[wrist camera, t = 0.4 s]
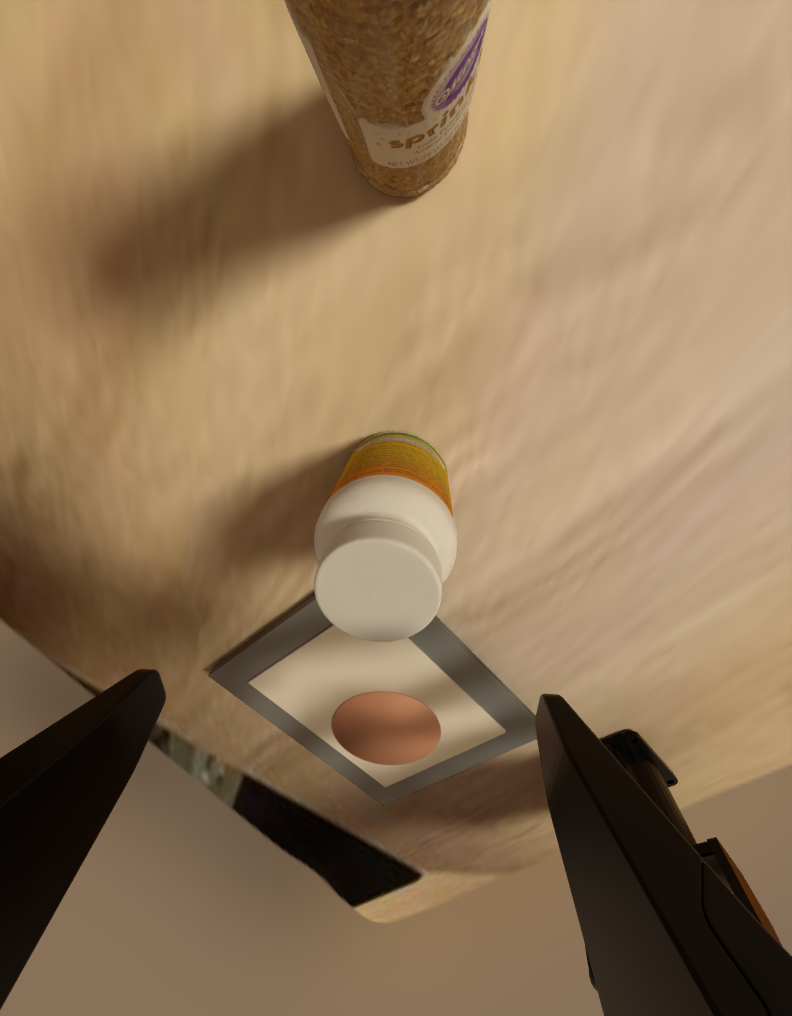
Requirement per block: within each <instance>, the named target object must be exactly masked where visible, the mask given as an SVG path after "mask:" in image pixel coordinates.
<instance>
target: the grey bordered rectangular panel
mask: <svg viewBox="0 0 792 1016" xmlns="http://www.w3.org/2000/svg"><path fill="white" fill-rule="evenodd" d="M208 676H209V677H210V678H212V679H213V680H214V681H216V682H217V683H218V684H220V685H221V686H223V687H224V688H225V689H227V690H228V691H229V692H231V693H232V694H233V695H235V696H236V697H237V698H239V699H240V700H241V701H243V702H244V703H245V704H247V705H248V706H250V707H251V708H252V709H254V710H255V711H256V712H258V713H259V714H260V715H262V716H263V717H264V718H266V719H267V720H268V721H270V722H271V723H273V724H274V725H275V726H277V727H278V728H279V729H281V730H282V731H283V732H285V733H286V734H287V735H289V736H290V737H291V738H293V739H294V740H295V741H297V742H298V743H300V744H301V745H302V746H304V747H305V748H306V749H308V750H309V751H310V752H312V753H313V754H314V755H316V756H317V757H318V758H320V759H321V760H322V761H324V762H325V763H327V764H328V765H329V766H331V767H332V768H333V769H335V770H336V771H337V772H339V773H340V774H341V775H343V776H344V777H345V778H347V779H348V780H349V781H351V782H352V783H354V784H355V785H356V786H358V787H359V788H360V789H362V790H363V791H364V792H366V793H367V794H368V795H370V796H371V797H372V798H374V799H375V800H376V801H378V802H379V803H381V804H382V805H383V806H384V805H386V804H388V803H391V802H393V801H395V800H398V799H400V798H402V797H404V796H407V795H409V794H411V793H414V792H416V791H418V790H420V789H423V788H425V787H427V786H430V785H432V784H434V783H437V782H439V781H441V780H443V779H446V778H448V777H450V776H453V775H455V774H457V773H459V772H462V771H464V770H466V769H469V768H471V767H473V766H475V765H478V764H480V763H482V762H485V761H487V760H489V759H492V758H494V757H496V756H498V755H501V754H503V753H505V752H508V751H510V750H512V749H514V748H517V747H519V746H521V745H524V744H526V743H528V742H531V741H533V740H535V739H537V735H536V728H535V718H536V716H535V715H534V714H533V713H532V712H531V711H530V710H529V709H528V708H527V707H526V706H525V705H524V704H523V703H522V702H521V701H520V700H519V699H518V698H517V697H516V696H515V695H514V694H513V693H512V692H511V691H510V690H509V689H508V688H507V687H506V686H505V685H504V684H503V683H502V682H501V681H500V680H499V679H498V678H497V677H496V676H495V675H494V674H493V673H492V672H491V671H490V670H489V669H488V668H487V667H486V666H485V665H484V664H483V663H482V662H481V661H480V660H479V659H478V658H477V657H476V656H475V655H474V654H473V653H472V652H471V651H470V649H469V648H468V647H467V646H466V645H465V644H464V643H463V642H462V641H461V640H460V639H459V638H458V637H457V636H456V635H455V634H454V633H453V632H452V631H451V630H450V629H449V628H448V627H447V626H446V625H445V624H444V623H443V622H442V621H441V620H440V619H439V618H438V617H437V616H436V615H435V617H434V618H433V620H432V621H431V622H430V623H429V624H428V625H427V626H426V627H425V628H424V629H423V630H421V631H419V632H418V633H416V634H414V635H412V636H410V637H408V638H405V639H402V640H398V641H392V642H372V641H366V640H362V639H359V638H356V637H353V636H351V635H349V634H347V633H345V632H343V631H342V630H340V629H339V628H337V627H336V626H335V625H333V624H332V623H331V622H330V621H329V620H328V619H327V617H326V616H325V615H324V614H323V612H322V611H321V609H320V607H319V605H318V603H317V600H316V597H315V594H314V595H312V596H311V597H310V598H308V599H307V600H305V601H304V602H303V603H301V604H300V605H299V606H297V607H296V608H294V609H293V610H292V611H290V612H289V613H287V614H286V615H285V616H283V617H282V618H280V619H279V620H278V621H276V622H275V623H274V624H272V625H271V626H269V627H268V628H267V629H265V630H264V631H262V632H261V633H260V634H258V635H257V636H256V637H254V638H253V639H251V640H250V641H249V642H247V643H246V644H244V645H243V646H242V647H240V648H239V649H238V650H236V651H235V652H233V653H232V654H231V655H229V656H228V657H226V658H225V659H224V660H222V661H221V662H220V663H218V664H217V665H215V666H214V667H213V669H212V670H211V672H210V674H209V675H208Z"/></svg>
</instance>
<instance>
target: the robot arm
mask: <svg viewBox="0 0 792 1016" xmlns="http://www.w3.org/2000/svg"><path fill="white" fill-rule="evenodd" d="M165 700H166V692H165V689H164V686H163V683H162V680H161V677H160V674H159V672H158V671H157V670H153V669H139V670H136V671H135V672H133V673H132V674H130V675H128V676H127V677H125V678H124V679H122V680H121V681H119V682H118V683H116V684H114V685H113V686H111V687H110V688H108V689H107V690H105V691H104V692H102V693H100V694H99V695H97V696H96V697H94V698H93V699H91V700H90V701H88V702H87V703H85V704H84V705H82V706H80V707H79V708H77V709H76V710H74V711H73V712H71V713H70V714H68V715H66V716H65V717H63V718H62V719H60V720H59V721H57V722H56V723H54V724H53V725H51V726H49V727H48V728H46V729H45V730H43V731H42V732H40V733H39V734H37V735H35V736H34V737H32V738H31V739H29V740H28V741H26V742H25V743H23V744H22V745H20V746H18V747H17V748H15V749H14V750H12V751H11V752H9V753H7V754H6V755H4V756H3V757H1V758H0V1009H1V1008H2V1006H3V1004H4V1002H5V1001H6V999H7V997H8V995H9V993H10V992H11V990H12V988H13V986H14V984H15V983H16V981H17V979H18V977H19V976H20V974H21V972H22V970H23V968H24V966H25V965H26V963H27V961H28V959H29V958H30V956H31V954H32V952H33V950H34V949H35V947H36V945H37V943H38V942H39V940H40V938H41V936H42V935H43V933H44V931H45V929H46V927H47V926H48V924H49V922H50V920H51V918H52V917H53V915H54V913H55V911H56V909H57V908H58V906H59V904H60V902H61V901H62V899H63V897H64V895H65V893H66V892H67V890H68V888H69V886H70V885H71V883H72V881H73V879H74V877H75V876H76V874H77V872H78V870H79V869H80V866H81V865H82V863H83V861H84V860H85V858H86V856H87V854H88V852H89V851H90V849H91V847H92V845H93V844H94V842H95V840H96V838H97V836H98V834H99V833H100V831H101V829H102V827H103V825H104V824H105V822H106V820H107V819H108V817H109V815H110V813H111V811H112V810H113V808H114V806H115V804H116V802H117V800H118V799H119V797H120V795H121V794H122V792H123V790H124V788H125V786H126V785H127V783H128V781H129V779H130V777H131V775H132V774H133V772H134V770H135V768H136V765H137V763H138V761H139V759H140V757H141V755H142V752H143V750H144V748H145V746H146V744H147V741H148V739H149V737H150V735H151V733H152V730H153V728H154V726H155V724H156V722H157V719H158V717H159V715H160V713H161V710H162V708H163V706H164V703H165ZM535 728H536V735H537V741H538V747H539V753H540V759H541V765H542V772H543V778H544V784H545V790H546V795H547V801H548V806H549V810H550V814H551V818H552V822H553V826H554V829H555V833H556V837H557V841H558V844H559V848H560V852H561V856H562V859H563V863H564V866H565V871H566V874H567V878H568V882H569V886H570V889H571V893H572V897H573V900H574V904H575V908H576V912H577V916H578V919H579V923H580V927H581V931H582V934H583V938H584V942H585V948H586V955H587V960H588V967H589V977H590V980H591V983H592V985H593V987H594V988H595V989H596V990H597V991H598V994H599V998H600V1002H601V1005H602V1009H603V1013H604V1016H792V956H791V955H790V954H789V953H788V952H787V951H786V950H785V949H784V948H783V947H782V944H781V942H780V941H779V938H778V937H777V935H776V933H775V930H774V928H773V926H772V925H771V923H770V921H769V919H768V918H767V916H766V914H765V912H764V911H763V909H762V907H761V905H760V904H759V902H758V900H757V899H756V897H755V895H754V894H753V892H752V890H751V888H750V887H749V885H748V883H747V882H746V880H745V878H744V876H743V875H742V873H741V872H740V870H739V869H738V868H737V866H736V865H735V863H734V862H733V860H732V859H731V858H730V857H729V855H728V853H727V852H726V850H725V849H724V848H723V846H722V845H721V843H720V842H719V841H718V839H717V838H716V837H714V838H710V839H707V842H703V843H699V844H697V843H696V841H695V839H694V837H693V835H692V833H691V831H690V829H689V827H688V825H687V823H686V821H685V819H684V818H683V816H682V814H681V812H680V810H679V808H678V806H677V804H676V802H675V800H674V798H673V796H672V794H671V792H670V790H669V788H668V787H671V786H674V785H676V784H677V783H678V780H677V778H676V776H675V775H674V773H673V772H672V771H671V770H670V769H669V768H668V766H667V765H666V764H665V763H664V762H663V761H662V760H661V758H660V757H659V756H658V755H657V754H656V753H655V752H654V751H653V749H652V748H651V747H650V746H649V745H648V744H647V743H646V742H645V740H644V739H643V738H642V737H641V736H640V735H639V734H638V733H637V732H635V731H630V732H627V733H624V734H622V735H619V736H617V737H614V738H612V739H610V740H607V741H605V742H601V741H600V740H599V739H598V738H597V736H596V735H595V734H594V733H593V732H592V731H591V729H590V728H589V727H588V726H587V725H586V724H585V723H584V721H583V720H582V719H581V718H580V717H579V716H578V715H577V713H576V712H575V711H574V710H573V709H572V708H571V706H570V705H569V704H568V703H567V702H566V701H565V700H564V698H563V697H561V696H560V695H556V694H542V695H541V697H540V700H539V704H538V709H537V713H536V718H535ZM732 892H733V893H734V894H733V893H732Z"/></svg>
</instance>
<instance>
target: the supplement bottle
mask: <svg viewBox="0 0 792 1016" xmlns="http://www.w3.org/2000/svg"><path fill="white" fill-rule="evenodd" d="M314 548H315V554H316V558H317V561H318V564H319V566H318V568H317V571H316V575H315V581H314V590H315V597H316V600H317V603H318V605H319V607H320V609H321V611H322V612H323V614H324V615H325V616H326V617H327V619H328V620H329V621H330V622H331V623H332V624H333V625H335V626H336V627H337V628H339V629H340V630H342V631H343V632H345V633H347V634H349V635H351V636H353V637H356V638H359V639H362V640H366V641H372V642H392V641H398V640H402V639H405V638H408V637H410V636H412V635H414V634H416V633H418V632H419V631H421V630H423V629H424V628H425V627H426V626H427V625H428V624H429V623H430V622H431V621H432V620H433V618H434V617H435V615H436V613H437V611H438V609H439V606H440V603H441V597H442V584H443V583H444V582H445V580H446V579H447V578H448V576H449V574H450V572H451V570H452V568H453V566H454V563H455V559H456V554H457V531H456V524H455V518H454V510H453V503H452V495H451V488H450V481H449V475H448V470H447V467H446V464H445V462H444V460H443V458H442V456H441V455H440V453H439V452H438V451H437V449H436V448H435V447H434V446H433V445H432V444H430V443H429V442H428V441H427V440H425V439H424V438H422V437H420V436H418V435H415V434H413V433H409V432H404V431H388V432H383V433H379V434H376V435H374V436H372V437H370V438H368V439H367V440H365V441H364V442H362V443H361V444H360V445H359V446H358V447H357V448H356V449H355V451H354V452H353V453H352V455H351V456H350V458H349V460H348V462H347V463H346V465H345V468H344V470H343V472H342V473H341V476H340V477H339V479H338V481H337V483H336V485H335V487H334V489H333V490H332V493H331V495H330V496H329V498H328V500H327V502H326V503H325V505H324V507H323V509H322V511H321V514H320V516H319V518H318V521H317V524H316V528H315V534H314Z"/></svg>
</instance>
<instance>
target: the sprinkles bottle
mask: <svg viewBox="0 0 792 1016" xmlns="http://www.w3.org/2000/svg"><path fill="white" fill-rule="evenodd" d="M285 3H286V6H287V8H288V11H289V13H290V16H291V18H292V21H293V23H294V25H295V27H296V30H297V32H298V34H299V36H300V39H301V41H302V43H303V45H304V48H305V50H306V52H307V54H308V57H309V59H310V61H311V63H312V66H313V68H314V70H315V73H316V75H317V77H318V79H319V82H320V84H321V86H322V88H323V91H324V93H325V95H326V97H327V100H328V102H329V104H330V106H331V108H332V110H333V112H334V114H335V117H336V119H337V121H338V123H339V125H340V127H341V129H342V131H343V133H344V134H345V136H346V138H347V142H348V146H349V149H350V151H351V153H352V156H353V158H354V161H355V164H356V166H357V167H358V169H359V170H360V171H361V173H362V174H363V176H364V177H365V178H366V179H367V180H368V182H369V183H370V184H371V185H372V186H373V187H375V188H376V189H378V190H380V191H382V192H384V193H386V194H389V195H392V196H399V197H412V196H417V195H420V194H422V193H424V192H426V191H428V190H430V189H432V188H433V187H434V186H435V185H436V184H438V183H440V181H441V180H442V179H444V178H445V177H446V176H447V175H448V174H449V172H450V170H451V169H452V167H453V166H454V165H455V164H456V162H457V159H458V157H459V154H460V152H461V149H462V147H463V143H464V139H465V136H466V129H467V122H468V107H469V105H470V102H471V98H472V95H473V91H474V87H475V82H476V77H477V72H478V67H479V62H480V57H481V52H482V47H483V42H484V37H485V32H486V27H487V22H488V17H489V13H490V3H491V0H285Z"/></svg>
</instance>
